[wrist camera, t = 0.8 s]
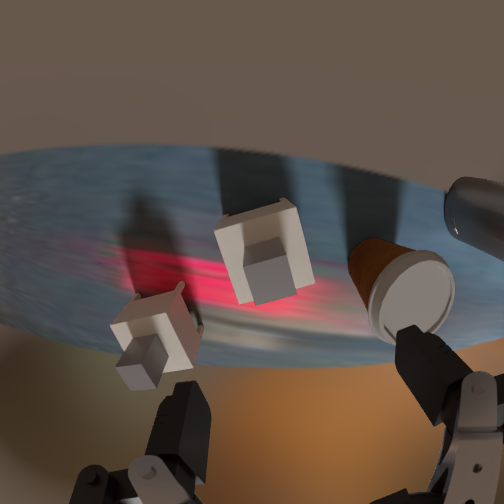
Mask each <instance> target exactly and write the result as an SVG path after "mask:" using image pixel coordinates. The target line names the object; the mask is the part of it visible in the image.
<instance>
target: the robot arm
mask: <svg viewBox="0 0 504 504" xmlns="http://www.w3.org/2000/svg"><path fill="white" fill-rule="evenodd" d="M445 220H446V224H447V227H448V230H449V232H450V233H451V235H452V236H453V237H454V238H456V239H458V240H460V241H462V242H464V243H467V244H469V245H471V246H473V247H475V248H477V249H479V250H481V251H484V252H486V253H488V254H490V255H492V256H494V257H496V258H498V259H500V260H502V261H504V182H498V181H493V180H487V179H480V178H472V177H461V178H459V179H458V180H456V181H455V182H454V183H453V185H452V186H451V188H450V189H449V192H448V194H447V197H446V201H445ZM395 365H396V369H397V371H398V373H399V375H400V376H401V377H402V379H403V380H404V382H405V383H406V385H407V386H408V388H409V389H410V391H411V392H412V394H413V395H414V396H415V398H416V400H417V401H418V403H419V404H420V406H421V407H422V409H423V410H424V412H425V413H426V415H427V417H428V418H429V420H430V421H431V423H432V424H433V426H436V425H438V424H440V423H442V422H444V424H445V425H446V427H445V430H444V436H443V440H442V445H441V449H440V454H439V457H438V461H437V465H436V469H435V472H434V474H433V476H432V478H431V481H430V483H429V486H428V488H427V491H426V492H416V493H409V494H408V492H407V489H406V488H405V489H403V490H400V491H398V492H396V493H393V494H391V495H388V496H386V497H383V498H381V499H378V500H375V501H373V502H371V503H370V504H494V499H495V494H496V490H497V484H498V478H499V471H500V464H501V455H502V444H504V374H501V375H498V376H495V377H493V376H492V375H490V374H489V373H487V372H482V371H477V372H473V371H472V370H471V369H470V368H469V367H468V365H467V364H466V363H465V362H464V361H463V360H462V359H461V358H460V357H459V356H458V355H457V354H456V353H455V352H454V351H452V349H451V348H450V347H449V346H448V345H446V343H445V342H444V341H443V340H442V339H441V338H440V337H439V336H437V335H435V334H432V333H430V332H426V333H424V332H423V331H422V330H421V329H420V328H419V327H418V326H416V325H411V326H408V327H406V328H403V329H401V330H398V331H397V333H396V350H395ZM210 428H211V412H210V408H209V405H208V403H207V401H206V399H205V397H204V395H203V393H202V391H201V389H200V387H199V385H198V383H197V382H196V381H186V382H178V383H176V384H175V388H174V391H173V395H172V396H166V398H165V399H164V400H163V401H162V403H161V404H160V405H159V408H158V411H157V417H156V418H155V421H154V425H153V428H152V431H151V435H150V438H149V441H148V445H147V448H146V452H145V455H144V456H142V457H139V458H138V459H136V460H135V461H133V462H132V464H131V465H130V467H129V469H124V470H119V471H113V472H108V471H107V470H106V469H105V468H103V467H102V466H99V465H90V466H87V467H85V468H84V469H83V470H82V471H81V472H80V473H79V476H78V478H77V481H76V484H75V487H74V490H73V493H72V496H71V499H70V503H69V504H204V503H203V502H202V501H201V500H200V499H199V498H198V496H197V495H196V494H195V493H194V491H195V485H197V484H205V481H206V469H207V459H208V448H209V438H210Z"/></svg>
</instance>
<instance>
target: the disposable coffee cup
mask: <svg viewBox="0 0 504 504" xmlns="http://www.w3.org/2000/svg"><path fill="white" fill-rule="evenodd" d="M348 270H349V274H350V276H351V278H352V280H353V282H354V284H355V286H356V288H357V290H358V292H359V294H360V296H361V298H362V300H363V302H364V304H365V307H366V309H367V311H368V317H369V323H370V326H371V328H372V330H373V332H374V333H375V335H376V336H377V337H378V338H380V339H381V340H383V341H385V342H387V343H391V344H393V345H395V346H396V333H397V331H398V330H401V329H403V328H406V327H408V326H411V325H416V326H418V327H419V328H420V329H421V330H422V331H423V332H424V333H426V332H430V333H432V334H433V333H435V332H436V331H437V330H438V329H439V327H440V326H441V325H442V324H443V322H444V321H445V319H446V318H447V316H448V314H449V312H450V310H451V307H452V304H453V301H454V295H455V283H454V278H453V275H452V273H451V271H450V269H449V267H448V265H447V263H446V262H445V260H444V259H443V258H442V257H441V256H439V255H438V254H436V253H434V252H432V251H428V250H413V249H410V248H407V247H403V246H400V245H397V244H394V243H391V242H387V241H384V240H381V239H378V238H370V239H367V240H364V241H362V242H361V243H359V244H358V245H357V246H356V247H355V248H354V250H353V251H352V253H351V255H350V257H349V262H348Z"/></svg>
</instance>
